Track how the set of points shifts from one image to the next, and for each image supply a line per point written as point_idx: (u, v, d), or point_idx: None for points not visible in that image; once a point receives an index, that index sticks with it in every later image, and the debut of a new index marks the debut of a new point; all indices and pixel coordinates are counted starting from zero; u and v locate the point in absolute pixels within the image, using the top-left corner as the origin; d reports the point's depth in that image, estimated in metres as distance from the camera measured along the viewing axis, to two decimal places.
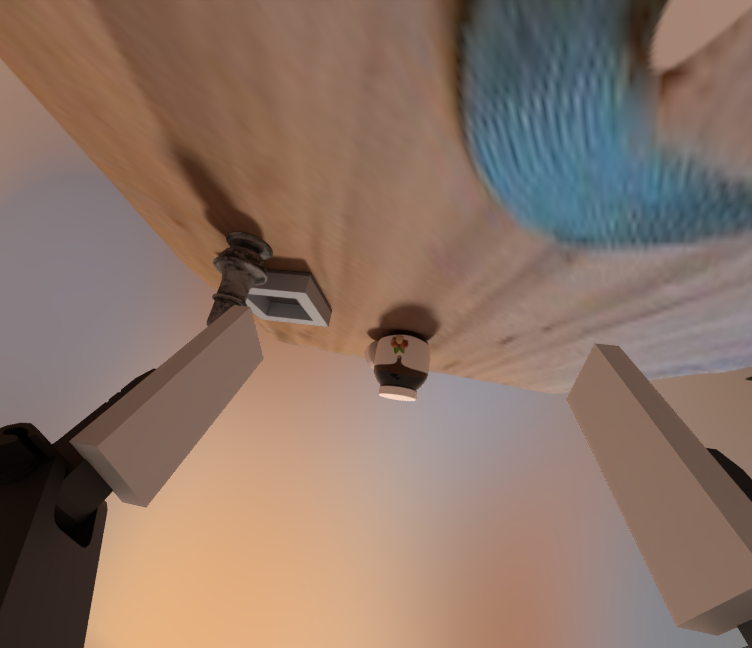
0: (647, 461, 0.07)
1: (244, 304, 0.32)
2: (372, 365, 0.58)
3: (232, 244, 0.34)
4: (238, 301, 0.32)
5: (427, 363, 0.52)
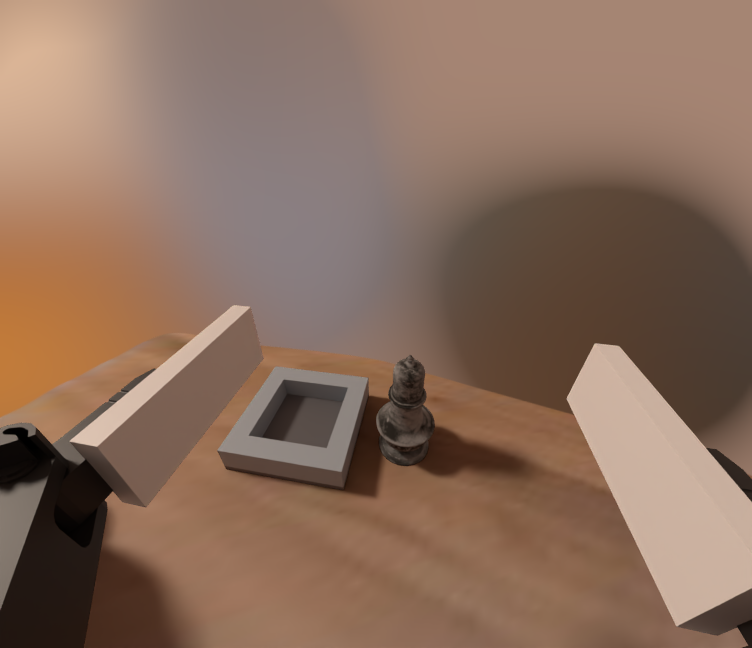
0: (647, 461, 0.07)
1: (404, 406, 0.26)
2: None
3: None
4: (414, 405, 0.26)
5: None
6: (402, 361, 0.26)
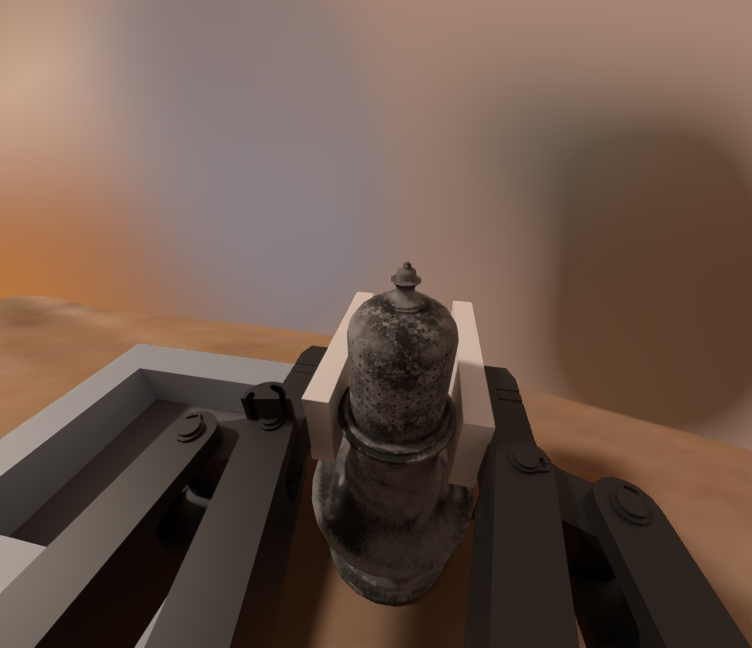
0: (454, 377, 0.10)
1: (384, 455, 0.08)
2: None
3: None
4: (418, 450, 0.08)
5: None
6: (379, 296, 0.07)
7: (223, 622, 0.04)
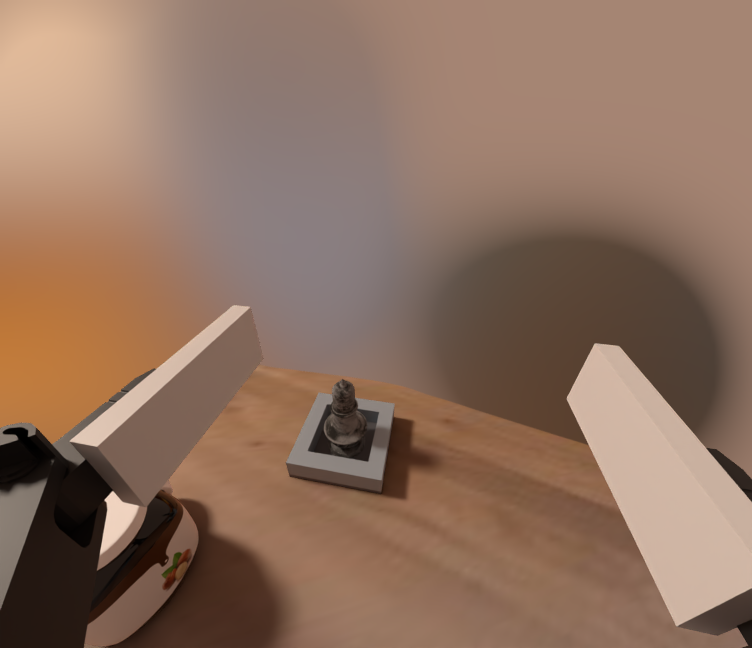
0: (647, 461, 0.07)
1: (339, 415, 0.37)
2: None
3: None
4: (346, 414, 0.37)
5: (94, 635, 0.22)
6: (338, 383, 0.36)
7: None
